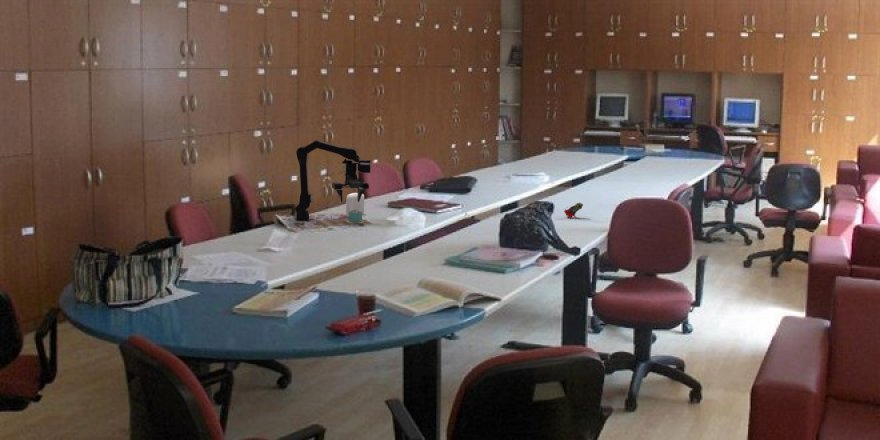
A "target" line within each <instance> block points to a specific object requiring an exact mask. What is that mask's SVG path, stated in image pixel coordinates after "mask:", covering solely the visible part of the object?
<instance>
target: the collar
mask: <svg viewBox="0 0 880 440" xmlns="http://www.w3.org/2000/svg"><path fill="white" fill-rule="evenodd" d="M347 218H348V222H352V223H359V222H362V220H363V215H362V212H361V211H358V213H353V211H349V212H348V217H347Z"/></svg>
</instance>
